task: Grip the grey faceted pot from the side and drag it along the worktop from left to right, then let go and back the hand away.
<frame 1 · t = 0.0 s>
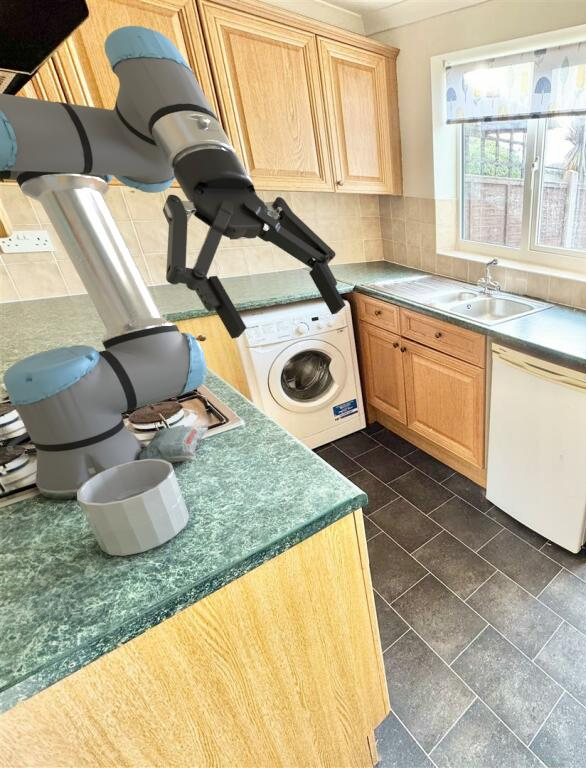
hand: (294, 320, 53), 36 cm above the counter, tool tilted 35°, fingers open, 13 cm apart
packaged food: (180, 455, 85), on the counter, touching arm
grey faceted pot: (148, 530, 66), on the counter
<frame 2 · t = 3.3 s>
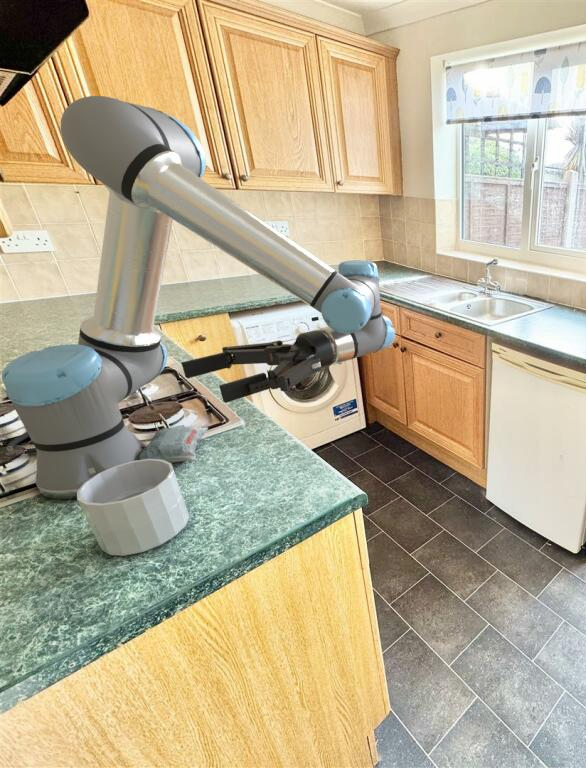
hand: (202, 381, 66), 22 cm above the counter, tool horizontal, fingers open, 13 cm apart
nothing on the counter moved.
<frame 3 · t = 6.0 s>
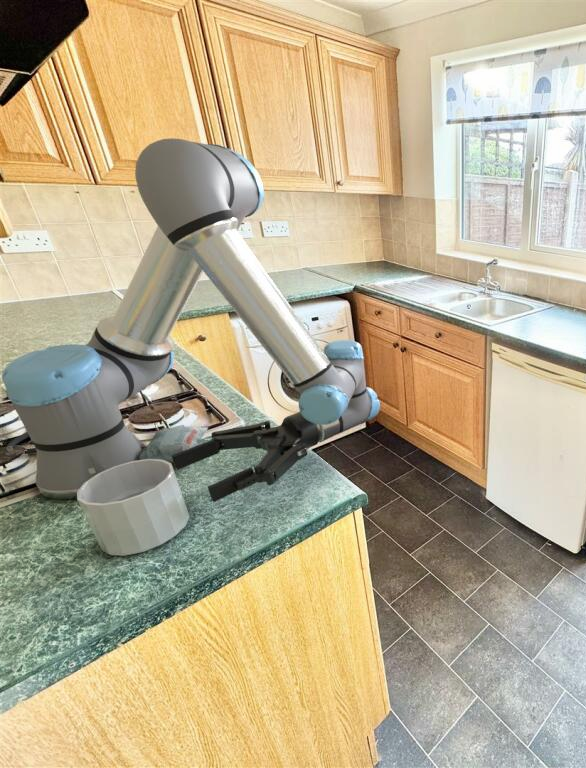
hand: (191, 477, 69), 6 cm above the counter, tool horizontal, fingers open, 13 cm apart
nothing on the counter moved.
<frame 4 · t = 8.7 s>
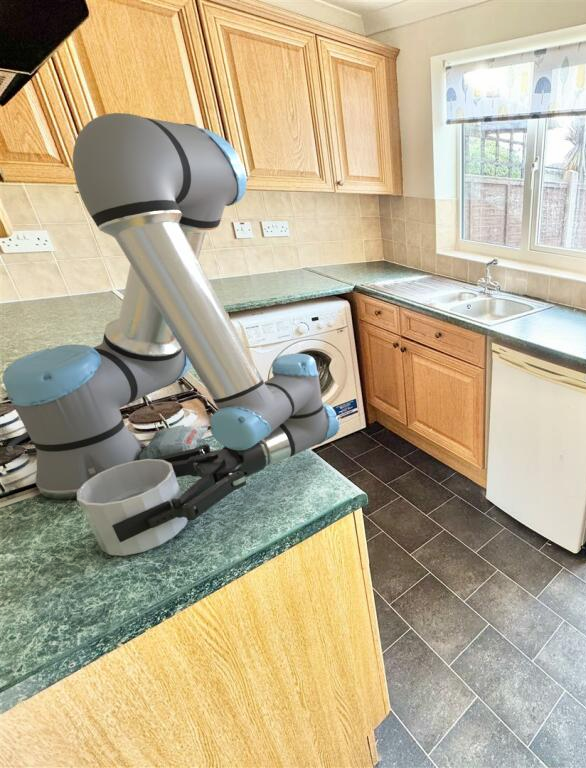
hand: (102, 515, 61), 6 cm above the counter, tool horizontal, fingers closed on grey faceted pot, 11 cm apart
grey faceted pot: (148, 530, 66), on the counter, touching gripper
everything else where it was.
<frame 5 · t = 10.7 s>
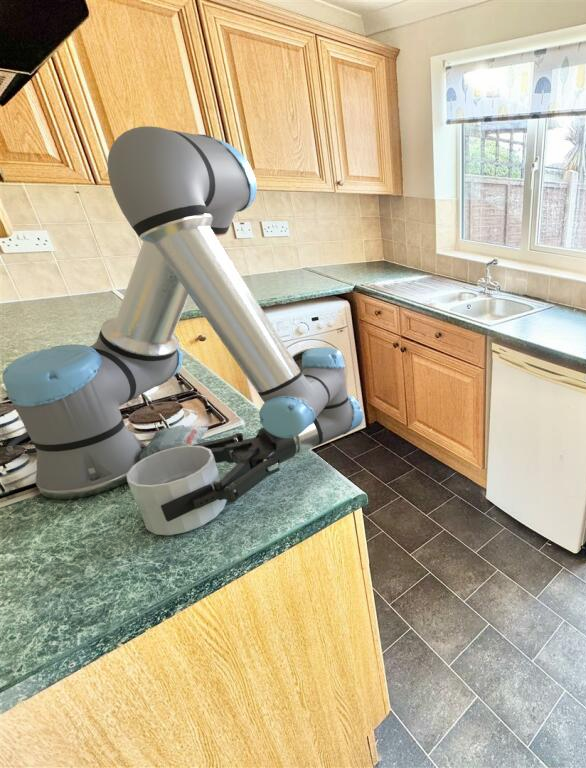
hand: (148, 497, 65), 6 cm above the counter, tool horizontal, fingers closed on grey faceted pot, 11 cm apart
grey faceted pot: (188, 513, 70), on the counter, touching gripper
everything else where it was.
when the fingers open (6 cm above the counter, at t = 13.1 s): grey faceted pot stays where it is, on the counter.
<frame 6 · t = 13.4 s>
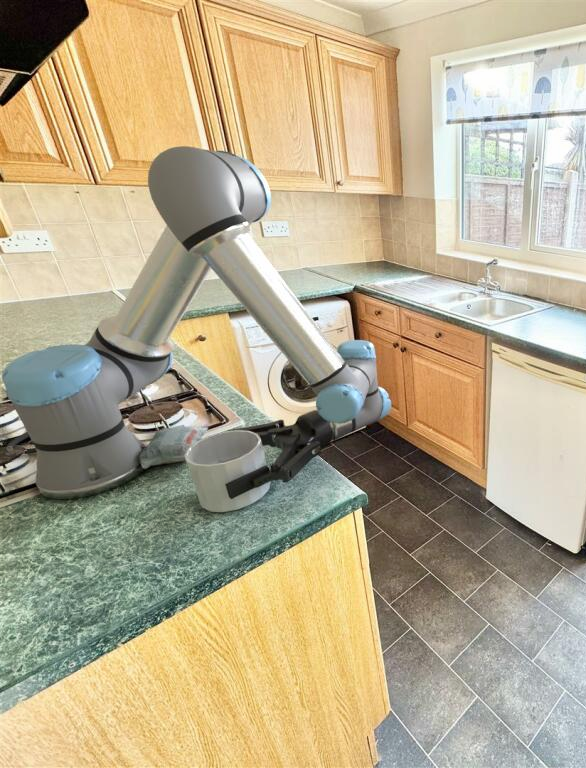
hand: (208, 475, 71), 6 cm above the counter, tool horizontal, fingers open, 13 cm apart
grey faceted pot: (236, 493, 75), on the counter
everything else where it was.
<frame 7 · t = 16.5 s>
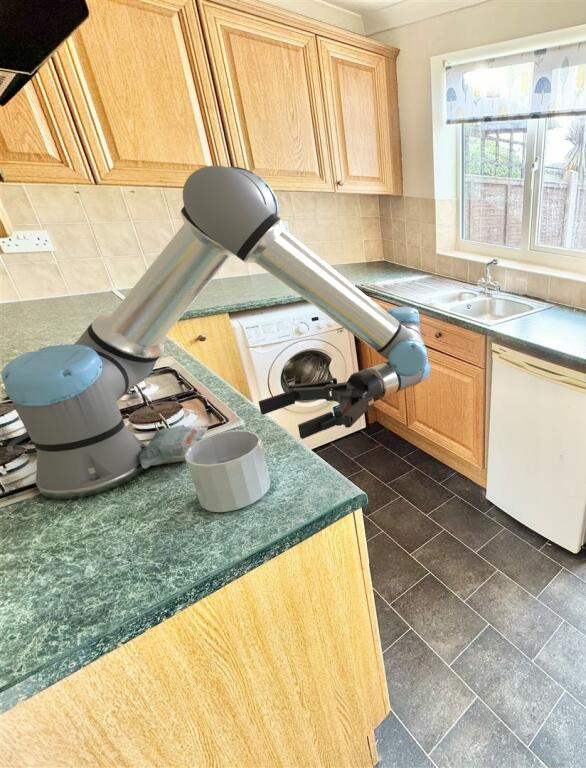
hand: (279, 419, 78), 11 cm above the counter, tool horizontal, fingers open, 13 cm apart
nothing on the counter moved.
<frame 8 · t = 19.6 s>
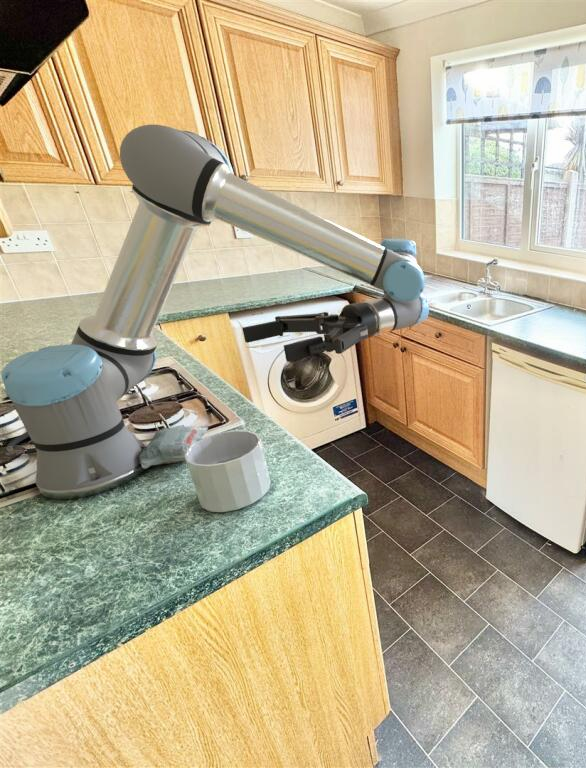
hand: (264, 344, 72), 26 cm above the counter, tool horizontal, fingers open, 13 cm apart
nothing on the counter moved.
at the end: grey faceted pot inside the target area (0.1 cm from its centre), on the counter; grey faceted pot tilted 0°; the gripper is holding nothing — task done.
